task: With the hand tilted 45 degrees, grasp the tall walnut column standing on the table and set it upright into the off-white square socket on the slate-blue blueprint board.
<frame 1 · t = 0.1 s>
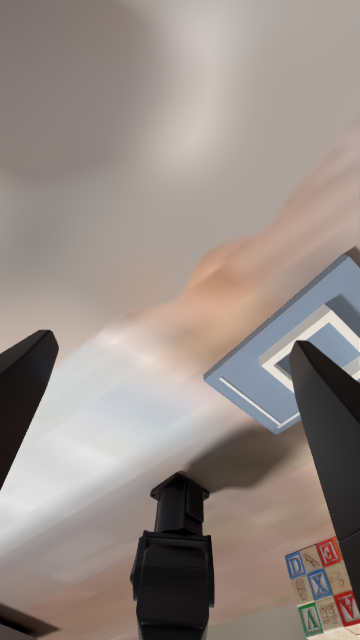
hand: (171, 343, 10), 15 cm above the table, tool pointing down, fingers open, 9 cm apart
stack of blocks: (349, 540, 42), on the table
blueprint board: (302, 356, 27), on the table
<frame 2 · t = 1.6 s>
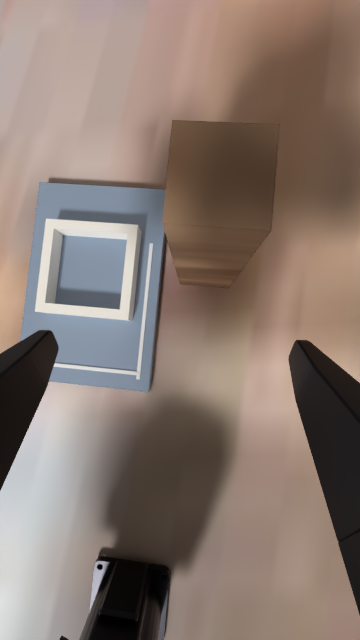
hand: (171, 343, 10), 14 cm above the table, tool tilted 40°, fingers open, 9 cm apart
walnut column: (206, 262, 23), on the table
blueprint board: (96, 285, 24), on the table
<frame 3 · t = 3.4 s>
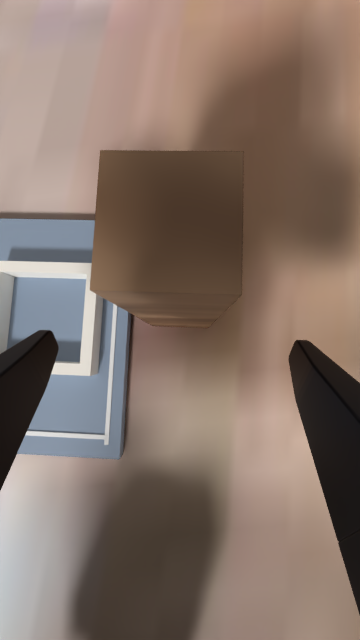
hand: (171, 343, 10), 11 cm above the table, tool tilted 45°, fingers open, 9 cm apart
walnut column: (181, 299, 21), on the table
blueprint board: (56, 332, 21), on the table
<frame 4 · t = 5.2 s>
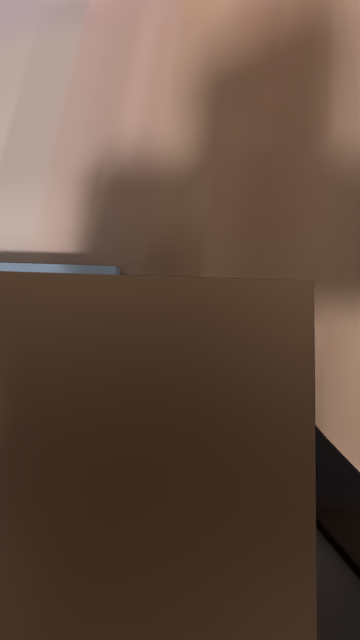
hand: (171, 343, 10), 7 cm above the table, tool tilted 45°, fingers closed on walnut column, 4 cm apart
walnut column: (178, 366, 16), on the table, touching gripper
blueprint board: (17, 407, 16), on the table
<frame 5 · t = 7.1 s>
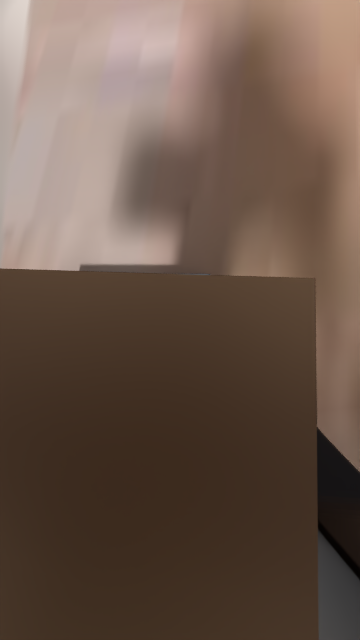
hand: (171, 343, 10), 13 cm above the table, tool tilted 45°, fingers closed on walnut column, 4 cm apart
walnut column: (178, 365, 16), point 6 cm above the table, touching gripper
when the fingers open (8 cm above the table, at t = 8.8 s): walnut column stays where it is, resting on blueprint board.
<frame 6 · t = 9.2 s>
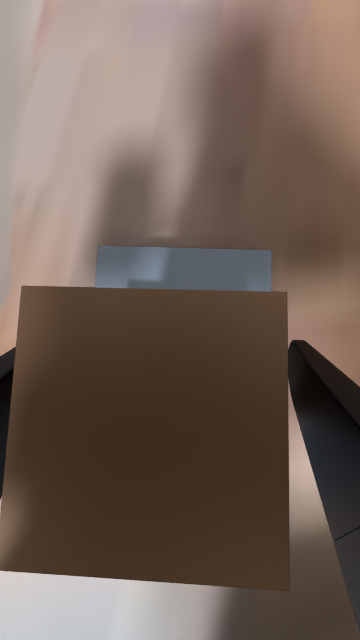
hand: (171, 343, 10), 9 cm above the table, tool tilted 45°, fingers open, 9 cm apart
walnut column: (179, 364, 17), point 1 cm above the table, touching blueprint board
blueprint board: (178, 378, 18), on the table
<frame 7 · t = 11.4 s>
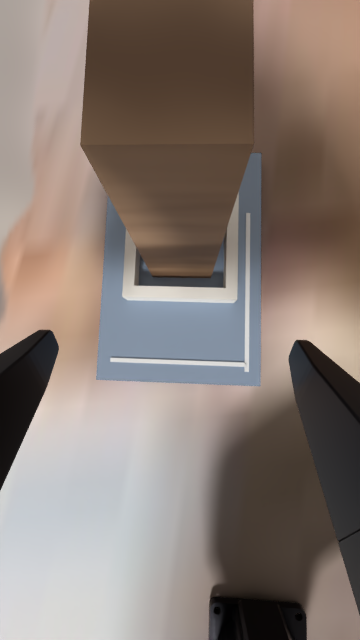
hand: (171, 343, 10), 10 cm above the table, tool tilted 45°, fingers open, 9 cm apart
walnut column: (182, 249, 20), point 1 cm above the table, touching blueprint board
blueprint board: (181, 266, 21), on the table
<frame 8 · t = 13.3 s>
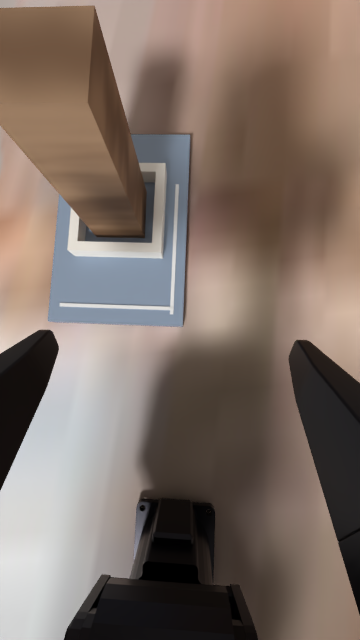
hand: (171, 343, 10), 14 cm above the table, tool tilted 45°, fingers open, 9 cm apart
walnut column: (121, 214, 23), point 1 cm above the table, touching blueprint board
blueprint board: (123, 230, 24), on the table
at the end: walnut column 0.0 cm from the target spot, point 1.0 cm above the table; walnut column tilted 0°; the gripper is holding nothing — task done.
